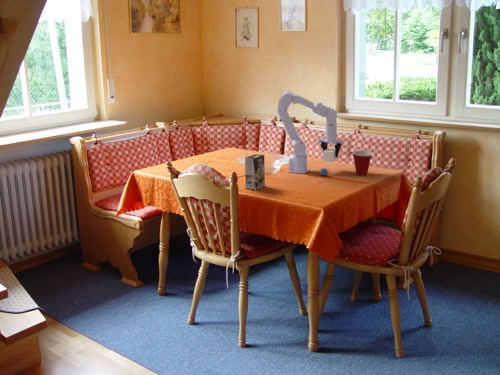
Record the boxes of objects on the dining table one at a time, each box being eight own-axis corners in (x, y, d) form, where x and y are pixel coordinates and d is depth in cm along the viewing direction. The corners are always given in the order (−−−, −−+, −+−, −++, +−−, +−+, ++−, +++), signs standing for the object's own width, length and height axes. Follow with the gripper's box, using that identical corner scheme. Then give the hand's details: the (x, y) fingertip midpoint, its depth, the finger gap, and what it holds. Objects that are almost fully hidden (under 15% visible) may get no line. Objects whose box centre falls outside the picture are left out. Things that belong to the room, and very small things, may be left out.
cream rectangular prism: (323, 161, 334) (322, 151, 332) (329, 156, 342) (329, 147, 340) (332, 162, 331) (332, 152, 330) (339, 157, 339) (339, 148, 338)
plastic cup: (372, 177, 325) (372, 154, 322) (351, 176, 327) (351, 154, 324) (372, 171, 335) (373, 150, 332) (352, 171, 337) (352, 149, 334)
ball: (318, 176, 330) (318, 168, 329) (321, 174, 333) (321, 167, 332) (325, 176, 328) (325, 169, 327) (328, 175, 332) (328, 167, 330)
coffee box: (256, 190, 308) (255, 158, 304) (245, 188, 311) (244, 157, 307) (265, 185, 315) (264, 154, 311) (254, 184, 319) (253, 153, 314)
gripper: (315, 132, 332) (315, 157, 336) (341, 134, 326) (341, 159, 329) (320, 129, 338) (320, 154, 342) (346, 131, 332) (345, 156, 335)
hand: (331, 156), depth 336 cm, fingers closed on cream rectangular prism, 6 cm apart
